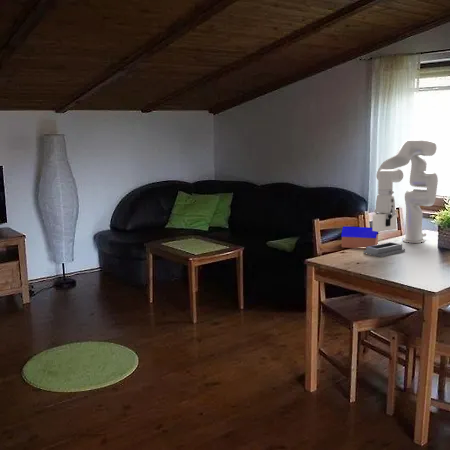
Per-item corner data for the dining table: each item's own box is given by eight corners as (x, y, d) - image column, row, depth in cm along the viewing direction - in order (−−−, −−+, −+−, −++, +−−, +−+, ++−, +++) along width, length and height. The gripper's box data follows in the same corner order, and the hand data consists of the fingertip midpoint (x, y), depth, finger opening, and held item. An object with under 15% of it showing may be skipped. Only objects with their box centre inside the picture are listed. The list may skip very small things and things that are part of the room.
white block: (390, 227, 308) (390, 211, 306) (396, 228, 305) (396, 212, 303) (372, 230, 300) (372, 214, 298) (378, 231, 296) (378, 215, 295)
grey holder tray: (387, 248, 315) (387, 241, 314) (404, 251, 305) (404, 244, 304) (363, 253, 304) (363, 246, 303) (380, 257, 294) (380, 249, 293)
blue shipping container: (375, 249, 314) (376, 229, 312) (340, 247, 321) (341, 228, 319) (378, 245, 325) (378, 226, 323) (344, 243, 332) (344, 224, 330)
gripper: (402, 193, 294) (401, 226, 297) (377, 191, 308) (377, 223, 311) (393, 194, 290) (392, 228, 293) (368, 192, 304) (368, 224, 307)
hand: (384, 225), depth 302 cm, fingers closed on white block, 4 cm apart
